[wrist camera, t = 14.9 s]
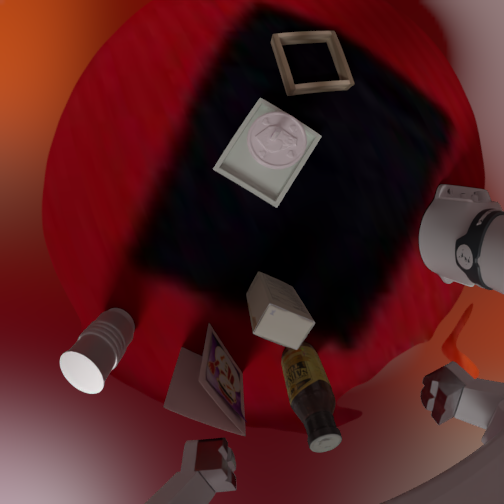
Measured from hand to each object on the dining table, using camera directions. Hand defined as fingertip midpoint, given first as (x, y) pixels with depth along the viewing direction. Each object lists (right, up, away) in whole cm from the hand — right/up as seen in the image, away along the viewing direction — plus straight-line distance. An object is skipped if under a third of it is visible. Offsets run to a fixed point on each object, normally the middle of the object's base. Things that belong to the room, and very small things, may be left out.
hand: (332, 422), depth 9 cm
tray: (-1, +20, +29) cm, 36 cm away
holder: (+6, +35, +27) cm, 44 cm away
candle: (-25, -6, +34) cm, 43 cm away
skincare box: (0, +1, +34) cm, 34 cm away
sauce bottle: (+5, -11, +37) cm, 39 cm away
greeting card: (-10, -11, +36) cm, 39 cm away
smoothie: (-1, +20, +28) cm, 35 cm away
